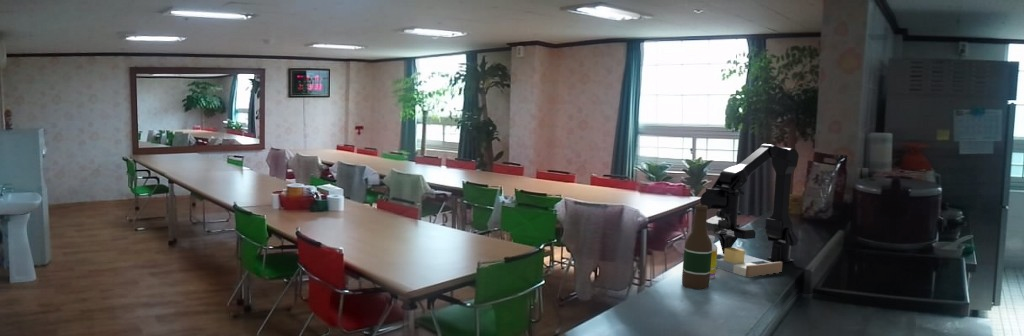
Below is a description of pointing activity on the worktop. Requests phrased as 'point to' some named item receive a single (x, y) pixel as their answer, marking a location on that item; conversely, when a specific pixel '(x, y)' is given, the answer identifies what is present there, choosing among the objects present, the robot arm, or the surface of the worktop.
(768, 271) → the board
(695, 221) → the beer bottle
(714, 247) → the supplement bottle
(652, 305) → the worktop surface
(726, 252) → the block
